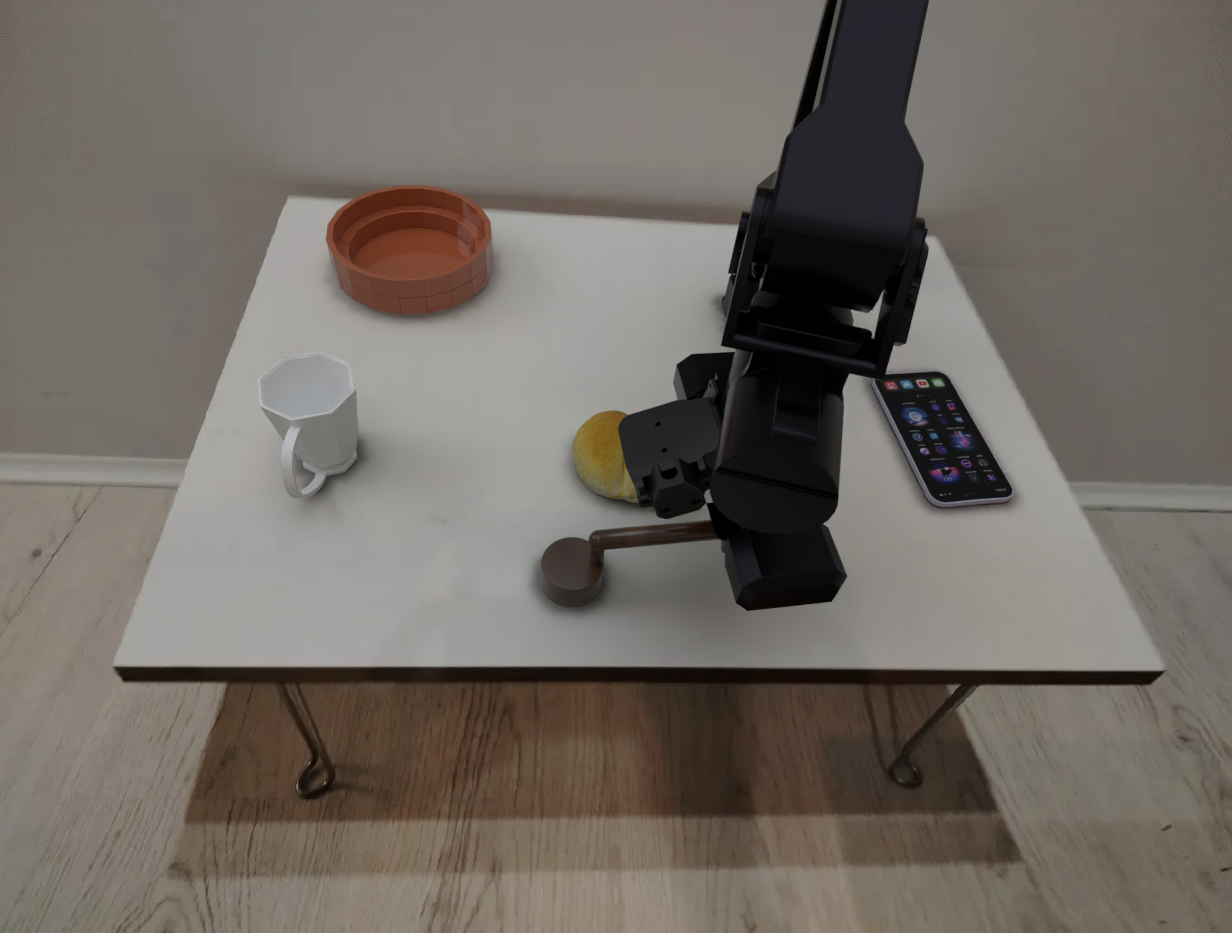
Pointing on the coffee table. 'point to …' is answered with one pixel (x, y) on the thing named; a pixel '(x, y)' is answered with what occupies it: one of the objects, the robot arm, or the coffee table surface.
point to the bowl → (410, 249)
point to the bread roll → (603, 457)
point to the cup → (312, 415)
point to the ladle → (579, 562)
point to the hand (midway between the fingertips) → (725, 540)
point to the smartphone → (941, 439)
